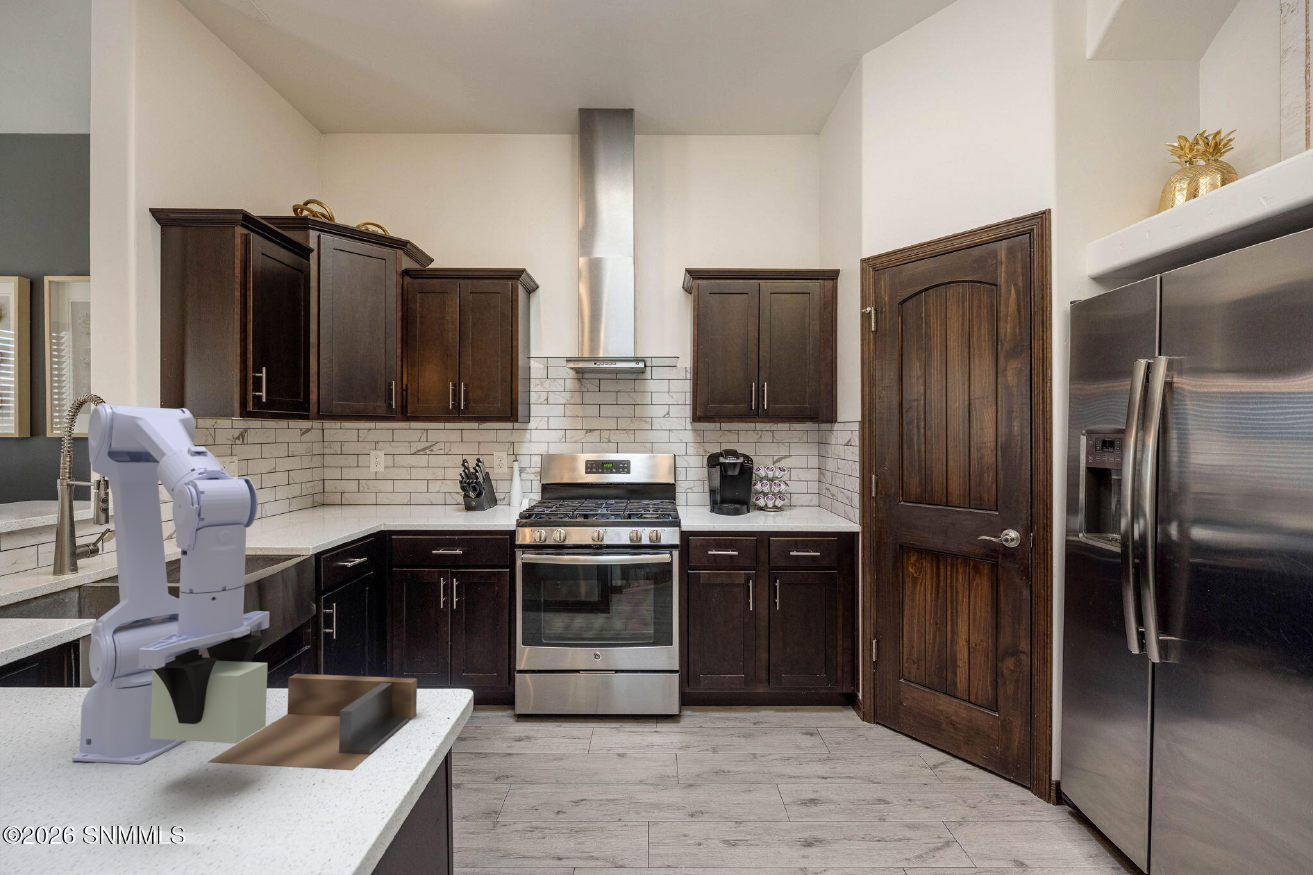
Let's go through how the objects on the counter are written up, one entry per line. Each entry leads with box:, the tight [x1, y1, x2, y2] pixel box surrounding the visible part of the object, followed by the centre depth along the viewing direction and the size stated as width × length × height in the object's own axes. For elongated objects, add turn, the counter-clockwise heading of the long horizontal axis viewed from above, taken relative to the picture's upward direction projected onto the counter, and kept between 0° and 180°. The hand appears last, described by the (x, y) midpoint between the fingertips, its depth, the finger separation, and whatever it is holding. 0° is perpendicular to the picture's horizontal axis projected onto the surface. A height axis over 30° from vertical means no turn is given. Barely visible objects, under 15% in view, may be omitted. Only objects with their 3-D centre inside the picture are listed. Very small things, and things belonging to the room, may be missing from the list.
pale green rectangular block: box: [150, 661, 268, 744], centre depth 64 cm, size 10×4×7 cm, turn 84°
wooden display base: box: [207, 673, 418, 771], centre depth 75 cm, size 18×14×6 cm
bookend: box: [339, 683, 409, 756], centre depth 75 cm, size 4×9×5 cm, turn 175°
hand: (208, 712), depth 64 cm, fingers closed on pale green rectangular block, 4 cm apart
